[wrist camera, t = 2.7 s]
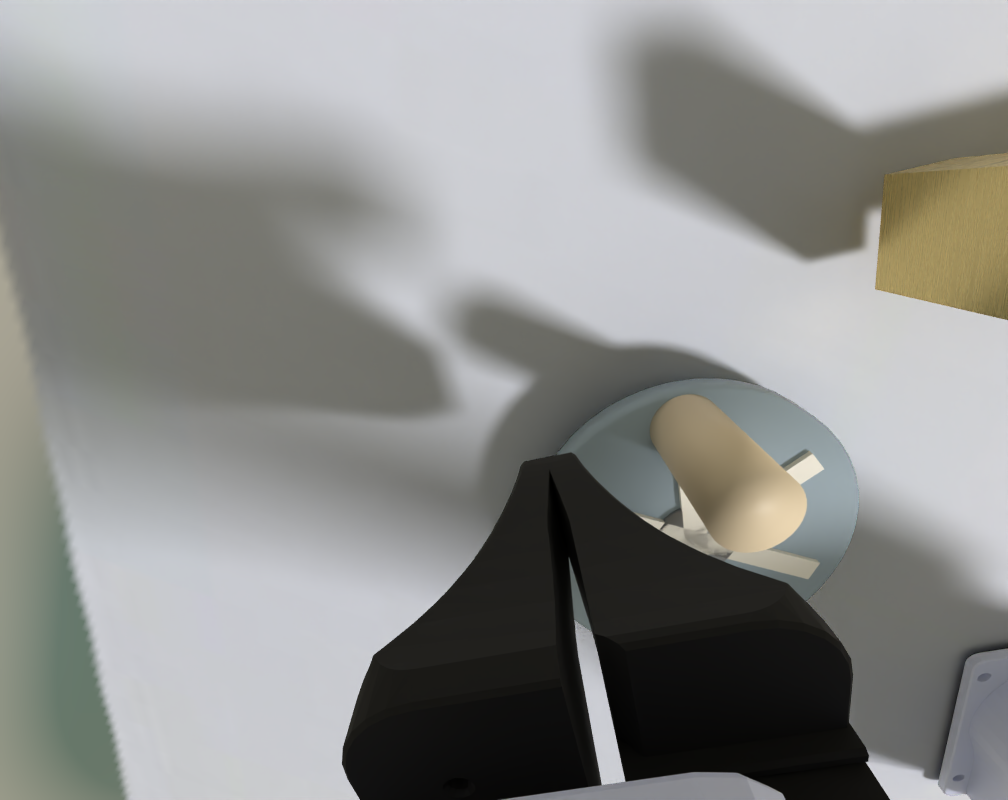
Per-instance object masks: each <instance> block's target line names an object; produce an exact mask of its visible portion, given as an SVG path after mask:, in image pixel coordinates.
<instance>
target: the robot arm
mask: <svg viewBox="0 0 1008 800" xmlns="http://www.w3.org/2000/svg"><path fill="white" fill-rule="evenodd" d="M569 559H570V562H571V566H572V569H573V572H574V575H575V579H576V582H577V585H578V588H579V591H580V595H581V598H582V601H583V604H584V608H585V611H586V614H587V617H588V620H589V624H590V627H591V630H592V633H593V637H594V640H595V644H596V648H597V652H598V656H599V660H600V665H601V670H602V674H603V679H604V684H605V688H606V693H607V698H608V702H609V707H610V711H611V716H612V721H613V725H614V730H615V735H616V739H617V744H618V749H619V753H620V758H621V763H622V767H623V772H624V776H625V781H626V782H621V783H614V784H607V785H602V784H601V779H600V773H599V768H598V762H597V757H596V752H595V746H594V741H593V735H592V730H591V724H590V719H589V713H588V708H587V702H586V697H585V691H584V686H583V680H582V675H581V669H580V664H579V658H578V651H577V643H576V634H575V622H574V611H573V599H572V588H571V576H570V565H569ZM852 681H853V672H852V663H851V658H850V656H849V655H848V653H847V651H846V650H845V648H844V646H843V645H842V643H841V642H840V640H839V639H838V638H837V637H836V635H835V634H834V633H833V631H832V630H831V629H830V628H829V626H828V625H827V624H826V623H825V621H824V620H823V619H822V618H821V617H820V616H819V615H818V614H817V613H816V612H815V611H814V609H813V608H812V607H811V606H810V605H809V604H808V603H807V602H806V601H805V600H804V599H803V598H802V597H801V596H800V595H799V594H798V593H797V592H796V591H795V590H794V589H793V588H792V587H791V586H790V585H789V584H788V583H786V582H783V581H780V580H776V579H773V578H770V577H767V576H764V575H761V574H758V573H755V572H752V571H749V570H746V569H743V568H739V567H737V566H734V565H731V564H729V563H726V562H724V561H722V560H719V559H717V558H714V557H712V556H709V555H707V554H705V553H703V552H700V551H698V550H696V549H694V548H692V547H690V546H688V545H686V544H684V543H682V542H680V541H678V540H676V539H674V538H672V537H670V536H669V535H667V534H665V533H664V532H662V531H660V530H658V529H657V528H655V527H654V526H652V525H651V524H649V523H648V522H646V521H645V520H643V519H642V518H641V517H639V516H638V515H636V514H635V513H634V512H632V511H631V510H630V509H628V508H627V507H626V506H625V505H624V504H622V503H621V502H620V501H619V500H617V499H616V498H615V497H614V496H613V495H612V494H611V493H609V492H608V491H607V490H606V489H605V488H604V487H603V486H602V485H601V484H600V483H599V482H598V481H597V480H596V479H595V478H594V477H593V476H592V475H591V474H590V473H589V471H588V470H587V469H586V468H585V467H584V466H583V464H582V463H581V462H580V460H579V459H578V458H577V456H576V455H575V454H573V453H572V452H570V453H565V454H560V455H555V456H550V457H545V458H540V459H535V460H530V461H525V462H524V463H523V464H522V465H521V467H520V471H519V474H518V477H517V480H516V483H515V485H514V488H513V490H512V493H511V495H510V497H509V499H508V502H507V504H506V506H505V508H504V510H503V512H502V514H501V516H500V518H499V520H498V522H497V523H496V525H495V527H494V529H493V531H492V532H491V534H490V536H489V537H488V539H487V541H486V542H485V544H484V545H483V547H482V548H481V550H480V551H479V553H478V554H477V555H476V557H475V558H474V560H473V561H472V562H471V564H470V565H469V566H468V568H467V569H466V570H465V571H464V572H463V574H462V575H461V576H460V577H459V578H458V579H457V581H456V582H455V583H454V584H453V585H452V586H451V588H450V589H449V590H448V591H447V592H446V593H445V594H444V595H443V596H442V597H441V598H440V599H439V600H438V601H437V602H436V603H435V604H434V605H433V606H432V607H431V608H430V609H429V610H428V611H427V612H425V613H424V614H423V615H422V616H421V617H420V618H419V619H418V620H417V621H416V622H414V623H413V624H412V625H411V626H410V627H408V628H407V629H406V630H405V631H404V632H402V633H401V634H400V635H399V636H397V637H396V638H395V639H394V640H392V641H391V642H390V643H389V644H387V645H386V646H385V647H384V648H382V649H381V650H380V651H378V652H377V653H376V654H374V656H373V658H372V661H371V664H370V666H369V669H368V671H367V673H366V676H365V678H364V680H363V683H362V686H361V689H360V692H359V695H358V698H357V701H356V704H355V708H354V711H353V715H352V718H351V722H350V725H349V729H348V732H347V736H346V739H345V742H344V746H343V755H342V765H343V768H344V770H345V773H346V776H347V778H348V780H349V782H350V784H351V785H352V787H353V789H354V790H355V792H356V794H357V795H358V797H359V799H360V800H890V799H889V797H888V796H887V794H886V793H885V791H884V790H883V788H882V787H881V785H880V784H879V782H878V781H877V779H876V777H875V776H874V774H873V773H872V771H871V770H870V768H869V767H868V765H867V764H866V762H868V758H869V755H868V752H867V750H866V747H865V746H864V744H863V743H862V741H861V740H860V738H859V737H858V735H857V734H856V732H855V731H854V729H853V728H852V726H851V725H850V723H849V713H850V702H851V692H852ZM938 786H939V787H940V789H941V790H942V791H943V793H944V794H946V795H949V796H957V795H964V794H967V795H968V796H969V797H970V799H971V800H1008V648H1006V649H1000V650H994V651H987V652H981V653H976V654H973V655H972V656H970V657H969V658H968V659H967V660H966V662H965V666H964V671H963V675H962V680H961V684H960V688H959V693H958V697H957V702H956V706H955V710H954V715H953V719H952V724H951V728H950V732H949V737H948V741H947V746H946V750H945V754H944V759H943V763H942V768H941V772H940V776H939V781H938Z"/></svg>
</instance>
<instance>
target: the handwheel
mask: <svg viewBox="0 0 1008 800" xmlns="http://www.w3.org/2000/svg"><path fill="white" fill-rule="evenodd" d="M570 452H572V453H573V454H575V455H576V456H577V458H578V459H579V460H580V462H581V463H582V464H583V466H584V467H585V468H586V469H587V470H588V471H589V473H590V474H591V475H592V476H593V477H594V478H595V479H596V480H597V481H598V482H599V483H600V484H601V485H602V486H603V487H604V488H605V489H606V490H607V491H608V492H609V493H611V494H612V495H613V496H614V497H615V498H616V499H617V500H619V501H620V502H621V503H622V504H624V505H625V506H626V507H627V508H628V509H630V510H631V511H632V512H634V513H635V514H636V515H638V516H639V517H641V518H642V519H643V520H645V521H646V522H648V523H649V524H651V525H652V526H654V527H655V528H657V529H658V530H660V531H662V532H664V533H665V534H667V535H669V536H670V537H672V538H674V539H676V540H678V541H680V542H682V543H684V544H686V545H688V546H690V547H692V548H694V549H696V550H698V551H700V552H703V553H705V554H707V555H709V556H712V557H714V558H717V559H719V560H722V561H724V562H726V563H729V564H731V565H734V566H737V567H739V568H743V569H746V570H749V571H752V572H755V573H758V574H761V575H764V576H767V577H770V578H773V579H776V580H780V581H783V582H786V583H788V584H789V585H790V586H791V587H792V588H793V589H794V590H795V591H796V592H797V593H798V594H799V595H800V596H801V597H802V598H803V599H804V600H805V601H807V600H808V599H809V598H810V597H811V596H812V595H813V594H814V593H815V592H816V591H817V590H818V589H819V588H820V587H821V586H822V585H823V584H824V583H825V581H826V580H827V579H828V578H829V577H830V576H831V574H832V573H833V572H834V570H835V569H836V567H837V566H838V564H839V562H840V561H841V559H842V558H843V556H844V554H845V552H846V550H847V548H848V546H849V544H850V541H851V538H852V535H853V532H854V529H855V526H856V521H857V515H858V509H859V490H858V484H857V478H856V473H855V471H854V468H853V465H852V462H851V460H850V457H849V456H848V454H847V452H846V450H845V449H844V447H843V445H842V444H841V442H840V441H839V440H838V439H837V438H836V436H835V435H834V434H833V433H832V432H831V431H830V430H829V428H828V427H826V426H825V425H824V424H823V423H821V422H820V421H819V420H818V419H816V418H815V417H814V416H813V415H811V414H810V413H808V412H807V411H805V410H804V409H802V408H801V407H799V406H798V405H797V404H795V403H794V402H792V401H790V400H789V399H787V398H785V397H783V396H782V395H780V394H778V393H776V392H774V391H771V390H769V389H766V388H764V387H761V386H758V385H755V384H751V383H746V382H742V381H738V380H729V379H719V378H703V379H688V380H681V381H675V382H669V383H665V384H662V385H658V386H654V387H651V388H647V389H645V390H642V391H640V392H637V393H635V394H632V395H630V396H627V397H625V398H623V399H622V400H620V401H618V402H616V403H614V404H612V405H610V406H609V407H607V408H605V409H604V410H603V411H601V412H600V413H598V414H597V415H595V416H594V417H593V418H591V419H590V420H589V421H587V422H586V423H585V424H584V425H583V426H582V427H581V428H580V429H579V430H577V431H576V432H575V433H574V434H573V435H572V436H571V438H570V439H569V440H568V441H567V442H566V443H565V444H564V446H563V447H562V448H561V449H560V451H559V452H558V454H557V455H560V454H565V453H570ZM569 565H570V576H571V588H572V599H573V611H574V620H576V621H577V622H578V623H580V624H581V625H582V626H584V627H585V628H587V629H589V630H590V631H592V630H591V627H590V624H589V620H588V617H587V614H586V611H585V608H584V604H583V601H582V598H581V595H580V591H579V588H578V585H577V582H576V579H575V575H574V572H573V569H572V566H571V562H570V559H569Z"/></svg>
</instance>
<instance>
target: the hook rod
mask: <svg viewBox="0 0 1008 800" xmlns="http://www.w3.org/2000/svg"><path fill="white" fill-rule="evenodd" d="M875 289H876V290H881V291H885V292H889V293H893V294H898V295H902V296H906V297H911V298H915V299H919V300H924V301H928V302H932V303H937V304H941V305H945V306H950V307H954V308H958V309H962V310H967V311H971V312H975V313H980V314H984V315H988V316H993V317H997V318H1001V319H1006V320H1008V153H1002V154H992V155H982V156H971V157H961V158H953V159H949V160H944V161H940V162H936V163H932V164H927V165H923V166H919V167H915V168H911V169H906V170H902V171H898V172H894V173H889V174H885V176H884V188H883V201H882V213H881V225H880V237H879V249H878V261H877V273H876V286H875Z"/></svg>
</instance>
